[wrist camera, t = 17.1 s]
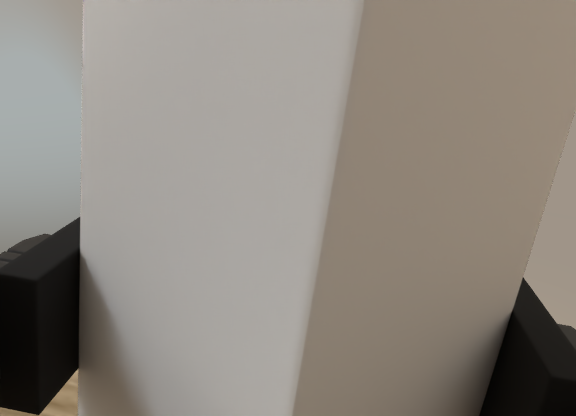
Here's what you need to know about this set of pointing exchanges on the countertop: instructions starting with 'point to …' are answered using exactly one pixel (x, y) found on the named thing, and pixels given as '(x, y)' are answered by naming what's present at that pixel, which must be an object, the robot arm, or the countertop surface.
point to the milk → (311, 200)
